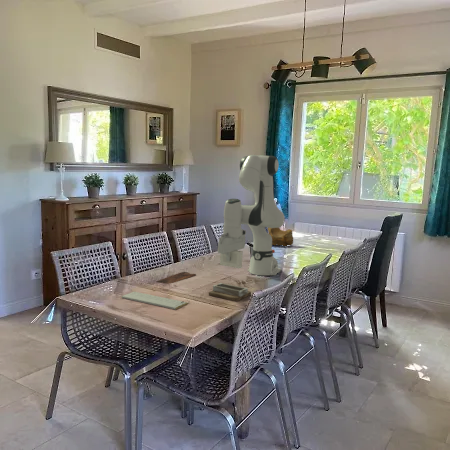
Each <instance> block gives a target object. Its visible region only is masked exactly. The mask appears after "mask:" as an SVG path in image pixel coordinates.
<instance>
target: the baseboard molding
mask: <svg viewBox="0 0 450 450" xmlns="http://www.w3.org/2000/svg"><path fill="white" fill-rule="evenodd" d="M121 298H122V299H126V300H131V301H135V302H139V303H144V304H148V305H152V306H157V307H163V308H167V309H171V310H175V311H176V310H178V309H179V308H182V307H184V306H187V305H188V304H190V301H188V302H187V301H184V300H183V301H182V300H177V299H172V298H168V297H161V296H159V295H158V296H157V295H152V294H148V293H142V292H139V291H132V292H129V293H127V294H124V295H121Z"/></svg>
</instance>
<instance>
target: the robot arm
mask: <svg viewBox="0 0 450 450" xmlns="http://www.w3.org/2000/svg"><path fill="white" fill-rule="evenodd" d="M278 160H279V159H278V158H277V157H276V156H274V155H265V154H264V155H262V154H261V155H256V154H251V155H247V156H243V157H242V158H241V159H240V162H239V170H240V172H239V175H238V181H239V182H238V183H239V184H240V186H242V187H243V188H244V189H246V190H247V191H250V192H252V193H254V200H255V201H254V204H253V205H249V204H246V205H245V204H242V201H241V199H240V198H239V199H238V198H230V199H226V201H225V202H224V203H225V204H224V208H223V221H224V222H223V225H222V226H223V227H222V228H223V229H222V234H221V236H220V237H219V239H218V242H217V253H218V254H225V255H226V260H227V261H231V257H230V252H233V251H235V250H237V251H241V250H242V249H245V246H246V235H247V230H245V229H243V228H242V225H248V227H249V228H250V230H251V233H252V238H253V239H252V240H253V244H252V245H253V246H252V247H253V249H252V252H251V253H252V254H251V257H250V260H249V268H247V272H249V274H253V275H255V276H256V275H257V276H276V275H278V274H279V273H281V272H282V268H280V267H279V266H278V260H277V259H276V258H275V257H274V254H275V249H273V246H272V237H271V235H270V234H269V232H268V231H267V230H266V228H267V229H268V228H281V227H282V226H283V225H284V223H285V219H286V217H285V214H284V213H283V211H282V210H280V208H279V207H278V205H277V204H276V201H275V196H274V178H273V176H274V175H275V174H277V172H278V171H279V165H280V164H279V161H278ZM277 273H278V274H277Z"/></svg>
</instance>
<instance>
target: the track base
mask: <svg viewBox="0 0 450 450" xmlns="http://www.w3.org/2000/svg"><path fill="white" fill-rule="evenodd" d="M251 295H252V291H251V290H250V291H249V288H247V287H242V286H237V285H232V284H227V283H223V282H219V283H217V284H214V285H213V286H212V290H211V291H209V292H208V296H211V297H215V298H219V299H224V300H229V301H233V302H238V301H240V300H243V299H245V298H247V297H249V296H251Z"/></svg>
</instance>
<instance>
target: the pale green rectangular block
mask: <svg viewBox="0 0 450 450" xmlns="http://www.w3.org/2000/svg"><path fill="white" fill-rule="evenodd" d="M219 254H220V253H219ZM219 256H220V257H219V266H224V267H229V268H235V269H242V268H243V251H242V250H238V251H237V250H235V251H233V252H230V257H231V261H227V260H226V255H225V254H220V255H219Z"/></svg>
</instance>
